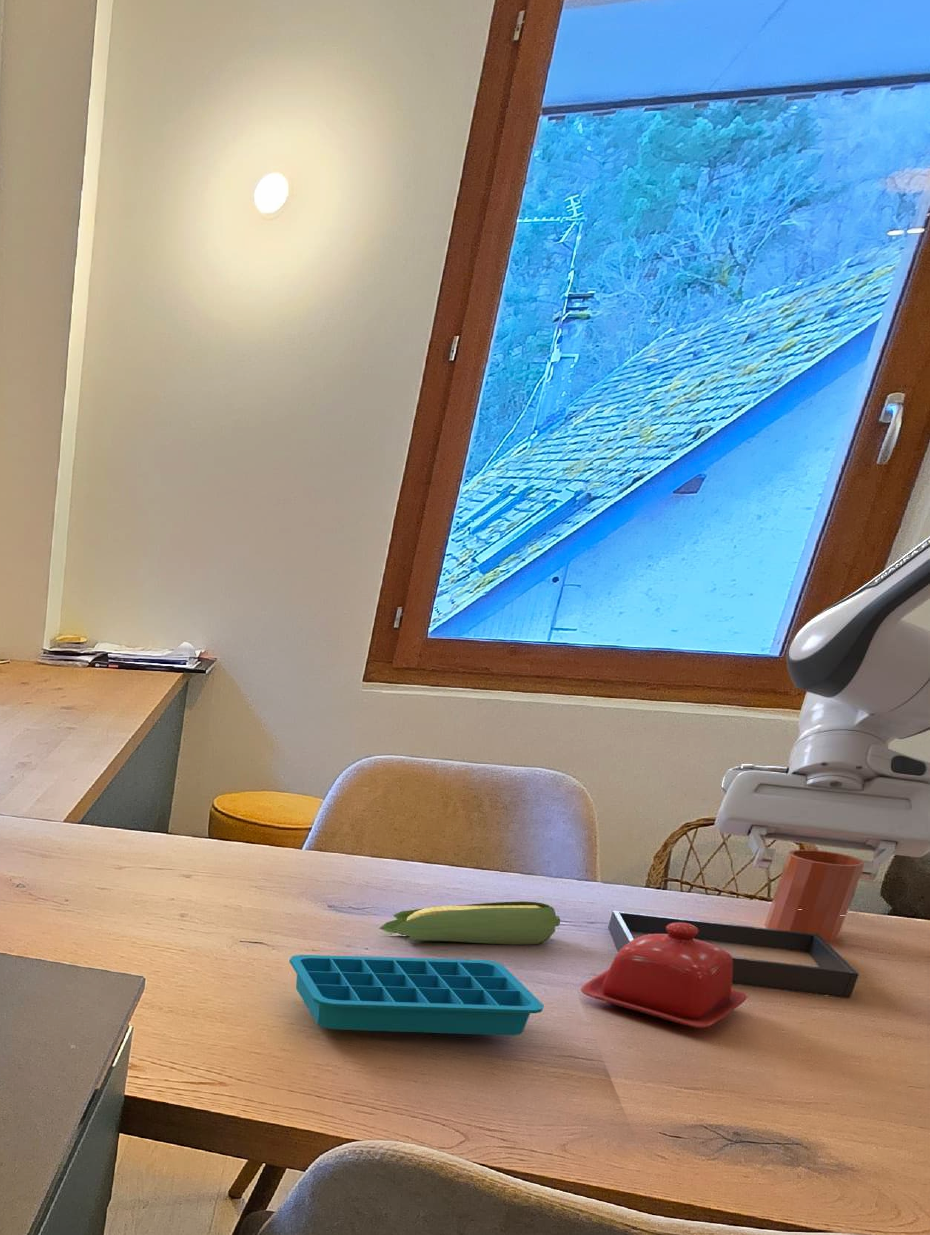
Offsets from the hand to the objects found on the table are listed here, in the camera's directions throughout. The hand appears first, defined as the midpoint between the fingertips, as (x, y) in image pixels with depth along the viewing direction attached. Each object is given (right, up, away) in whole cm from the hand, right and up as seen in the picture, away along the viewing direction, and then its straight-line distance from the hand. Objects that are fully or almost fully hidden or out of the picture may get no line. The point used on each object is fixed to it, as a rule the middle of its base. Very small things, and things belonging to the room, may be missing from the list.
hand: (813, 872), depth 135 cm
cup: (-3, -8, -2) cm, 9 cm away
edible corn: (-42, -8, -2) cm, 42 cm away
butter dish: (-32, -15, -19) cm, 40 cm away
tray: (-18, -11, -9) cm, 23 cm away
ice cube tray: (-58, -16, -21) cm, 64 cm away
